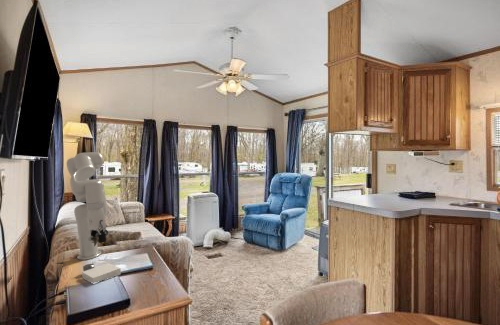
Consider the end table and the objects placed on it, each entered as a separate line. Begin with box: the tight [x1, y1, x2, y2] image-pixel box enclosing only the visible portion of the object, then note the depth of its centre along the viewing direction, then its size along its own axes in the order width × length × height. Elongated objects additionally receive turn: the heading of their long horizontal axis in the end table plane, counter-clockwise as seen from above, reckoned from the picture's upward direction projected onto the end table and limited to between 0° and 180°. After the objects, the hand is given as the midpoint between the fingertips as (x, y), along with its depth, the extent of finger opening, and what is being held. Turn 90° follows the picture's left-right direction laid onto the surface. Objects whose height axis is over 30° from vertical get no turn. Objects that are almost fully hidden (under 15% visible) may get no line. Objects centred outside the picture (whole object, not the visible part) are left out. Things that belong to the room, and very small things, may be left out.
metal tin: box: [82, 263, 95, 272], centre depth 152 cm, size 5×5×4 cm
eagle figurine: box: [88, 229, 109, 246], centre depth 148 cm, size 8×7×9 cm
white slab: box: [81, 263, 122, 283], centre depth 147 cm, size 13×13×3 cm
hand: (98, 240), depth 146 cm, fingers closed on eagle figurine, 8 cm apart
